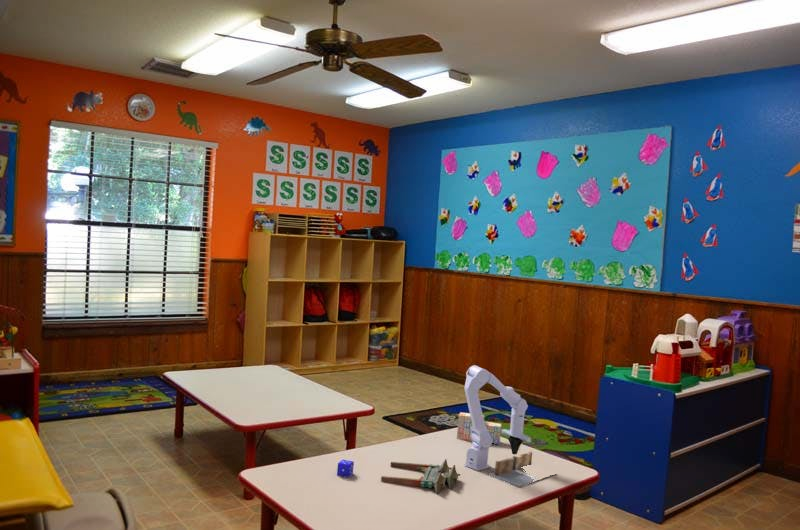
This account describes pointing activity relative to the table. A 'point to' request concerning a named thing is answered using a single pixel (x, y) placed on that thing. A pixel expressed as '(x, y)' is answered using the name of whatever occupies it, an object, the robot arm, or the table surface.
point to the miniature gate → (426, 475)
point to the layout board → (515, 477)
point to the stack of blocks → (466, 425)
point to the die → (345, 468)
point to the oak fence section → (523, 460)
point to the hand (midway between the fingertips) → (514, 453)
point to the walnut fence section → (505, 466)
